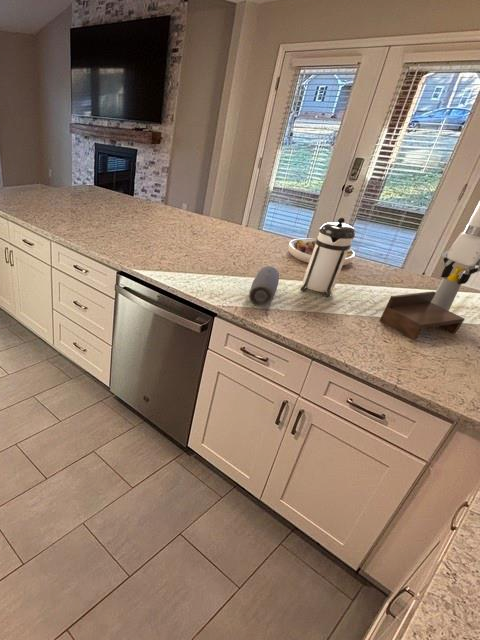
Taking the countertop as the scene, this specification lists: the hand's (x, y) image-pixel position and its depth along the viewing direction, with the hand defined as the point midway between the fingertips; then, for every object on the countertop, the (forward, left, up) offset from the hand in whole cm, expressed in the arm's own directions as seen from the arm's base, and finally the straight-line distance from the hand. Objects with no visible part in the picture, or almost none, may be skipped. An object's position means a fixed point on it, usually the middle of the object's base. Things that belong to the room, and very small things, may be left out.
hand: (453, 279), depth 152 cm
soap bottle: (0, 0, -13) cm, 13 cm away
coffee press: (+28, +32, -14) cm, 45 cm away
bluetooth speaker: (+25, +61, -14) cm, 68 cm away
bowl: (+60, +3, -14) cm, 62 cm away
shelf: (-8, +18, -14) cm, 24 cm away
